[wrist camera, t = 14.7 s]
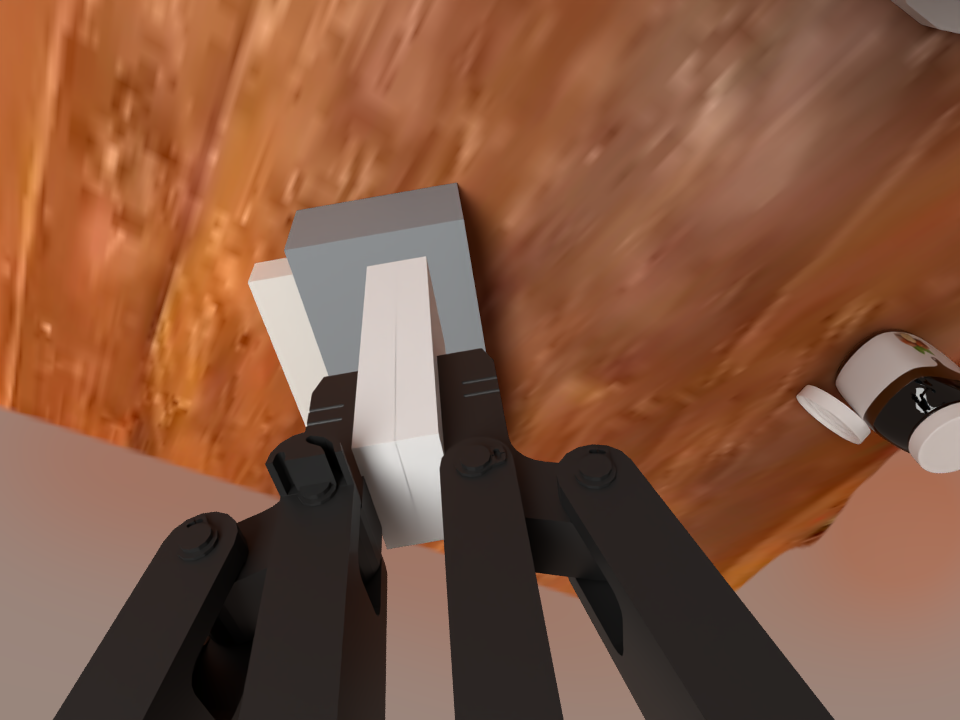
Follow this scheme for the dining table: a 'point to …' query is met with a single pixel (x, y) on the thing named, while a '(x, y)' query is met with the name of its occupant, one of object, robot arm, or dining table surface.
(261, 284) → the pale grey flat slab
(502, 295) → the dining table surface
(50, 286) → the dining table surface
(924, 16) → the gramophone
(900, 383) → the spread jar
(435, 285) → the low overhang
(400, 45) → the dining table surface
